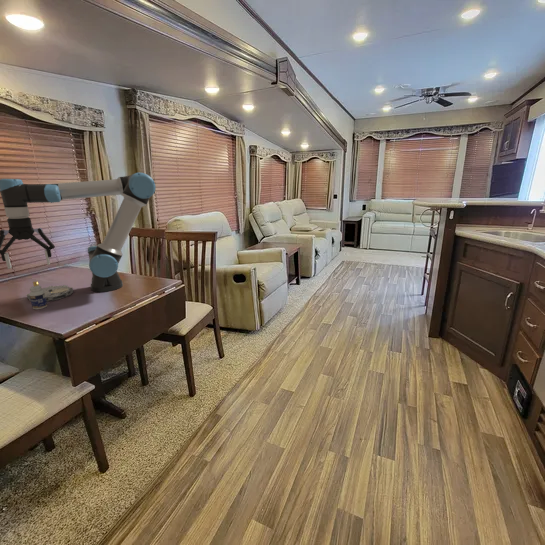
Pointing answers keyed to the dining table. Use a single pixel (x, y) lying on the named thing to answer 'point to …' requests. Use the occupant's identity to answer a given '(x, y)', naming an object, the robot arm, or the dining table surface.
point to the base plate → (59, 297)
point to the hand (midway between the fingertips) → (29, 266)
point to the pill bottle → (37, 297)
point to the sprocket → (54, 291)
